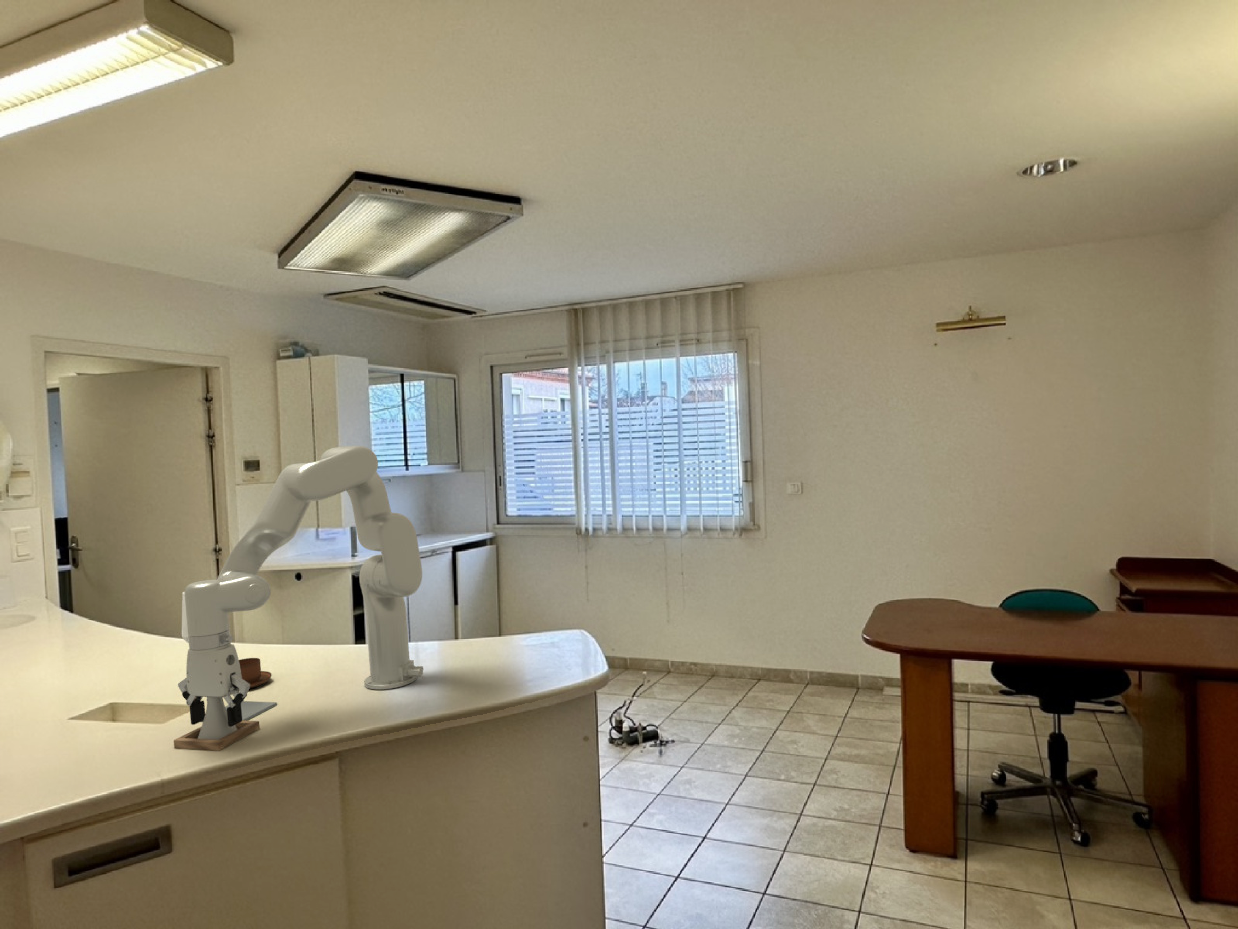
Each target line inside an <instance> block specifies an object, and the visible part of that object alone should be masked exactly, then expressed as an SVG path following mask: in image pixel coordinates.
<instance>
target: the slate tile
mask: <svg viewBox="0 0 1238 929" xmlns="http://www.w3.org/2000/svg"><path fill="white" fill-rule="evenodd" d="M277 705H278V702H275V701H273V702H272V701H253V700H252V701H250V700H249V701H248V700H244V701H243V702H242V703H241V710H242V720H245V721H250V720H251V719H253V718H255V717H257V716H259V715H260V714H262V713H265V712H266V711H268V710H270V709H272V708H274V707H276V706H277ZM228 707H230V706H229V705H228V704H227V705H226V706H225V708H226V710H227V708H228ZM203 721H204V720H203ZM203 721H201V723H203Z"/></svg>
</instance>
